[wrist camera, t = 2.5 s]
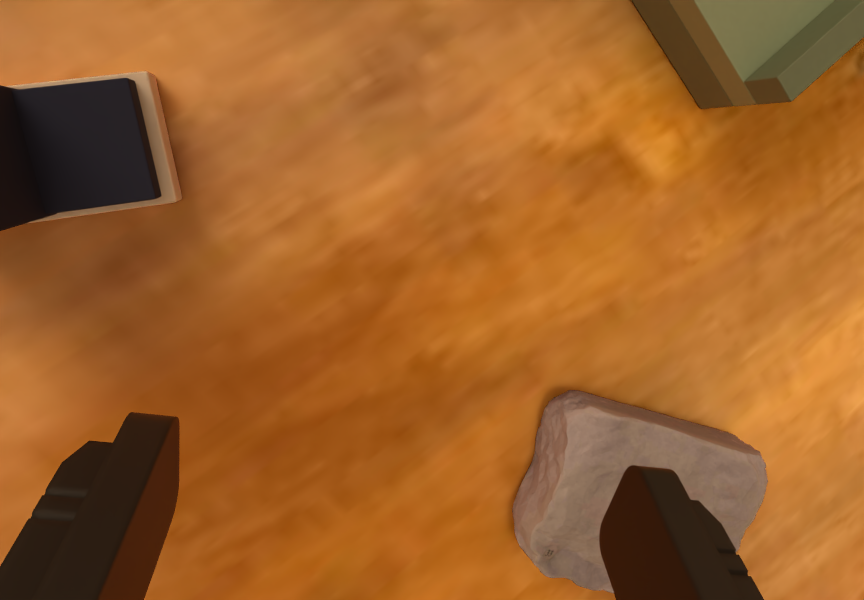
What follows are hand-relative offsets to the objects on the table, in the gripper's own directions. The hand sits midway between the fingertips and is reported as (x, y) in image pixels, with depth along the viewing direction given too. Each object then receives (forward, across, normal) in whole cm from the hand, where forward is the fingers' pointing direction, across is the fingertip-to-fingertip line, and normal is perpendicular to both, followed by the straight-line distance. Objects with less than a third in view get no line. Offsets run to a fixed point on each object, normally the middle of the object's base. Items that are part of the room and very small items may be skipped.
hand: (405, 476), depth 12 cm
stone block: (+16, -15, +15) cm, 27 cm away
